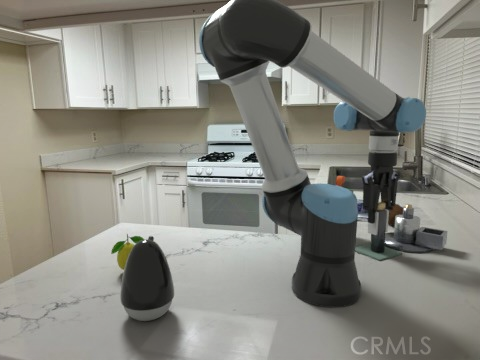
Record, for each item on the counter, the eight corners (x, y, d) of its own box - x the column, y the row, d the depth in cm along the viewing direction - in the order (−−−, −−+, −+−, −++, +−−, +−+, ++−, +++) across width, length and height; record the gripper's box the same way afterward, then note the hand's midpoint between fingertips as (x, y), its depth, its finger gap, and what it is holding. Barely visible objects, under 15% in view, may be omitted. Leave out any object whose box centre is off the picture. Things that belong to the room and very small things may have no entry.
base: (413, 256, 101) (414, 253, 101) (367, 240, 114) (367, 237, 114) (445, 246, 109) (446, 243, 109) (398, 232, 123) (399, 229, 122)
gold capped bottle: (380, 253, 101) (380, 204, 100) (368, 249, 104) (368, 202, 103) (387, 250, 104) (388, 202, 102) (375, 247, 107) (376, 200, 105)
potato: (391, 221, 137) (393, 200, 135) (412, 228, 128) (414, 206, 126) (376, 223, 134) (378, 202, 132) (397, 230, 125) (399, 208, 123)
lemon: (147, 268, 92) (146, 231, 91) (135, 278, 87) (133, 238, 85) (125, 265, 94) (123, 228, 93) (111, 274, 89) (109, 235, 87)
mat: (379, 260, 98) (379, 259, 98) (350, 249, 106) (350, 248, 106) (402, 253, 103) (402, 252, 103) (373, 243, 111) (373, 242, 111)
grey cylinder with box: (441, 250, 102) (445, 212, 100) (390, 239, 111) (393, 205, 109) (446, 243, 108) (450, 208, 106) (397, 234, 116) (400, 201, 114)
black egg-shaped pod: (178, 300, 76) (176, 231, 74) (170, 328, 66) (168, 249, 64) (129, 300, 76) (126, 231, 73) (114, 329, 66) (109, 250, 63)
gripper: (374, 154, 92) (368, 241, 96) (413, 151, 101) (407, 231, 105) (351, 151, 98) (347, 233, 102) (390, 149, 107) (385, 224, 111)
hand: (377, 232), depth 104 cm, fingers closed on gold capped bottle, 4 cm apart
